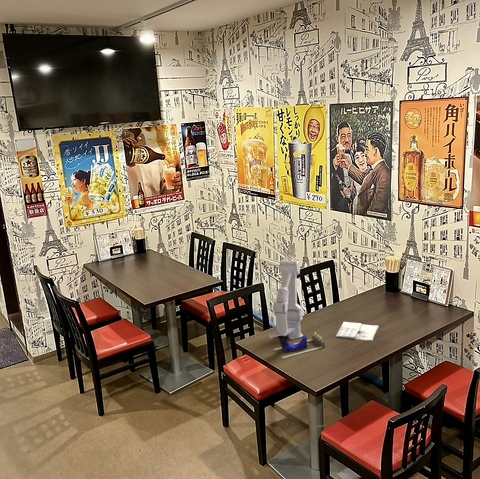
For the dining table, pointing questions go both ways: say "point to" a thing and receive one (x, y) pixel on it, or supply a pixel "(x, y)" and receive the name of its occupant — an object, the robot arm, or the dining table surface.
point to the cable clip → (296, 345)
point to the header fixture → (314, 338)
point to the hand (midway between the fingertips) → (283, 347)
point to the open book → (352, 329)
